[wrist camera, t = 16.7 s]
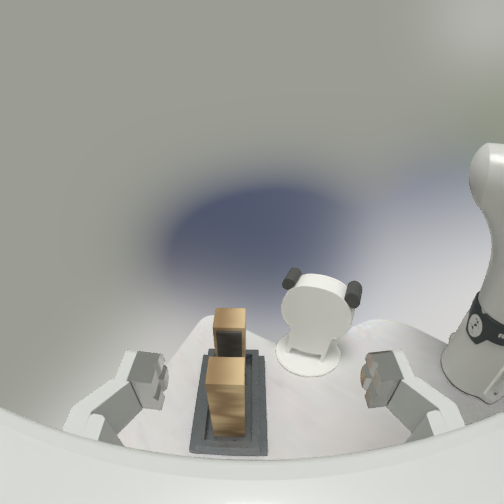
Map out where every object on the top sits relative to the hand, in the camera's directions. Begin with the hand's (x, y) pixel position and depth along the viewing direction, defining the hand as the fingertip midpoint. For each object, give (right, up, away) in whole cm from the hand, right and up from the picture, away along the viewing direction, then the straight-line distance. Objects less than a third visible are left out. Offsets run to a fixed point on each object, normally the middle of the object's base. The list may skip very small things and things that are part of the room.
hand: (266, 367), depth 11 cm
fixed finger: (-4, -15, +33) cm, 37 cm away
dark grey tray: (-4, -18, +30) cm, 35 cm away
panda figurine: (+9, -13, +39) cm, 42 cm away
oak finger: (-4, -19, +25) cm, 32 cm away
